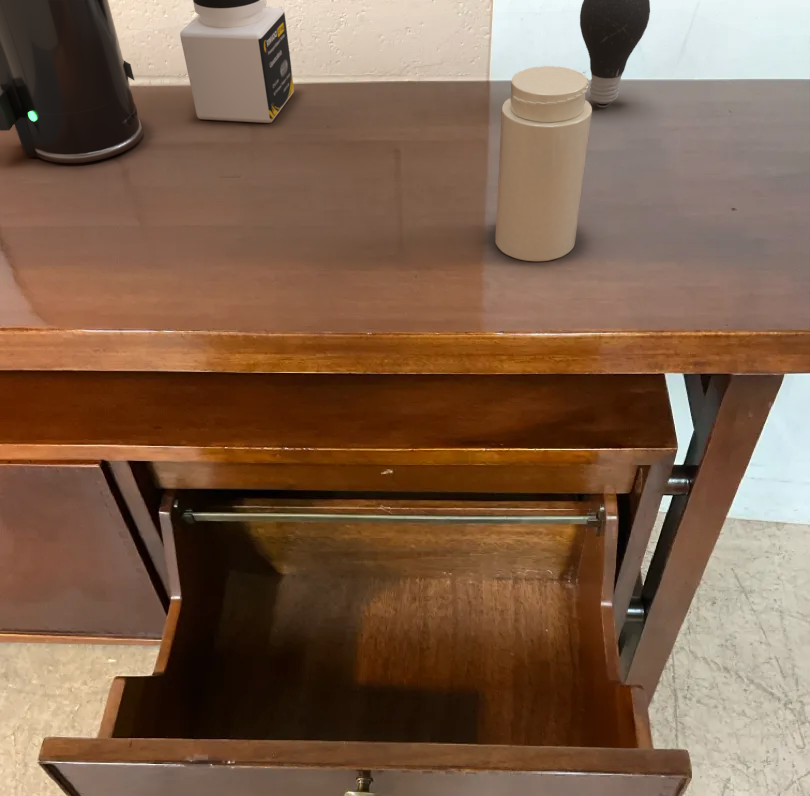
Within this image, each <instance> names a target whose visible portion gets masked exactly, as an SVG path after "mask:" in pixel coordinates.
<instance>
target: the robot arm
mask: <svg viewBox="0 0 810 796" xmlns="http://www.w3.org/2000/svg"><path fill="white" fill-rule="evenodd" d="M129 79H131V80H132V81H135V76H134V71H133V69H132V65H131V63H129V62H127V61H126V60H124V57H123V53H122V49H121V45H120V42H119V37H118V34H117V30H116V26H115V23H114V18H113V15H112V10H111V6H110V3H109V0H0V132H2V131H3V132H5V131H6V132H7V131H10V130H11V129H12V128H13V127H14V128H15V130H16V133H17V136H18V138H19V141H20V144H21V146H22V149H23V152H24V155H25V157H26V158H27V157H28V158H31V157H33V158H34V157H36V158H40V159H42V160H44V161H48V162H53V163H60V164H81V163H89V162H90V163H91V162H95V161H96V162H97V161H101V160H104V159H107V158H111V157H114V156H117V155H119V154H121V153H124V152H126V151H128V150H130V149H131V148H132V147H134V146H135V145H137V143H139V142H140V141H141V139H142V137H143V133H144V130H143V126H142V123H141V120H140V119H139V116H138V109H137V105H136V103H135V100H134V96H133V92H132V88H131V84H130V81H129Z"/></svg>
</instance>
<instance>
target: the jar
mask: <svg viewBox="0 0 810 796" xmlns="http://www.w3.org/2000/svg"><path fill="white" fill-rule="evenodd" d="M510 85H511V86H510V98H507V99H506V100H505V101H504V103H503V104H502V107H501V119H500V122H501V123H500V137H499V138H500V139H499V159H498V177H497V178H498V180H497V196H496V197H497V198H496V199H497V200H496V216H495V217H496V218H495V235H494V236H495V237H494V241H495V245H496V246H497V248H498V249H499V250H500V251H501V252H502V253H503V254H505V255H507V256H508V257H510V258H513V259H515V260H516V259H517V260H521V261H527V262H547V261H552V260H556V259H559V258H563V257H564V256H566V255H567V254H569V253H570V252H571V251H572V250H573V249H574V247H575V245H576V240H577V239H576V237H577V231H578V224H579V223H578V222H579V215H580V209H581V199H582V193H583V184H584V176H585V169H586V160H587V153H588V146H589V137H590V131H591V123H592V116H593V115H592V113H593V107H592V105H591V103H590V102H589V101H588V100H587V99H586V97H587V93H588V91H589V89H590V82H589V78H588V77H587V76H586V75H585V74H583V73H582V72H580V71H577V70H575V69H572V68H568V67H563V66H562V67H561V66H551V65H546V66H545V65H543V66H535V67H534V66H533V67H529V68H525V69H523V70H520V71H518V72H517V73H515V74H514V75H513V76H512V78H511V84H510Z"/></svg>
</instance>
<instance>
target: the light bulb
mask: <svg viewBox="0 0 810 796" xmlns="http://www.w3.org/2000/svg"><path fill="white" fill-rule="evenodd" d="M581 3H582V4H581V6H580V7H581V8H580V12H579V13H580V14H579V26H580V27H579V28H580V32H581V36H582V39H583V41H584V44H585V47H586V50H587V52H588V56H589V69H590V73H591V79H590V84H589V93H590V94H589V98H590V99H591V100H592V101H593V102H594V103H596V106H597V107H598V108H606V107H608V106H609V104H611V103H613V102H614V101H615V100H617V98H618V95H619V93H620V92H619V91H620V85H621V79H622V76H623V73H624V71H625V69H626V67H627V62H628V60H629V58H630V56H631V55H632V52H633V51H634V50H635V48H636V46H637V45H638V44H639V42H640V41H641V39H642V37H643V36H644V34H645V32H646V29H647V27H648V24H649V21H650V14H651V3H650V0H583V1H582V2H581Z"/></svg>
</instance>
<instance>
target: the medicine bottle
mask: <svg viewBox="0 0 810 796" xmlns="http://www.w3.org/2000/svg"><path fill="white" fill-rule="evenodd" d="M192 3H193V8H194V11H195V13H196V14H197V16H195V18H193V20H191V21H190V22H189V23H188V24H187V25H186V26H185V27H184V28H183V29H182V30H180V32H179V36H180V42H181V46H182V50H183V55H184V61H185V65H186V70H187V75H188V80H189V85H190V90H191V93H192V99H193V103H194V107H195V108H194V109H195V113H196V117H197V118H198V119H199V120H208V121H209V120H210V121H225V122H226V121H227V122H246V123H262V124H271V123H272V122H273V121H274V120H275V119H276V117H277V116H278V114H279V113H280V111H282V109H283V108H284V106H285V105H286V103H287V102H289V99H290V98H291V97H292V95H293V94H294V92H295V87H294V79H293V70H292V63H291V53H290V46H289V36H288V29H287V21H286V13H285V9H284V8H283V7H282V6H267V0H192Z"/></svg>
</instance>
